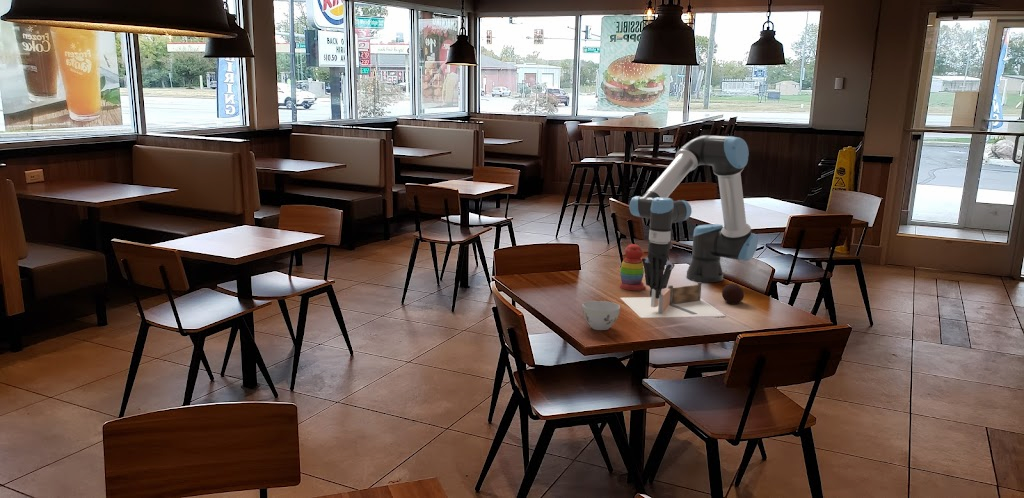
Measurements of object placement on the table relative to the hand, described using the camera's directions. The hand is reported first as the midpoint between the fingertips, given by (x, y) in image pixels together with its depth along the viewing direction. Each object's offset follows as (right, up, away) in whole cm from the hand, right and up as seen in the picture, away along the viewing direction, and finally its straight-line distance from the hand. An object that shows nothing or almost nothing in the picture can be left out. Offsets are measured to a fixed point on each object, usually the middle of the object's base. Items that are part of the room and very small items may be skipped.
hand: (654, 306), depth 272 cm
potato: (+32, 0, +14) cm, 35 cm away
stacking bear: (-3, +5, +35) cm, 35 cm away
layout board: (+7, -1, +7) cm, 10 cm away
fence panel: (+4, -1, +2) cm, 5 cm away
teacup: (-22, -6, -17) cm, 29 cm away
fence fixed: (+13, +1, +13) cm, 18 cm away
